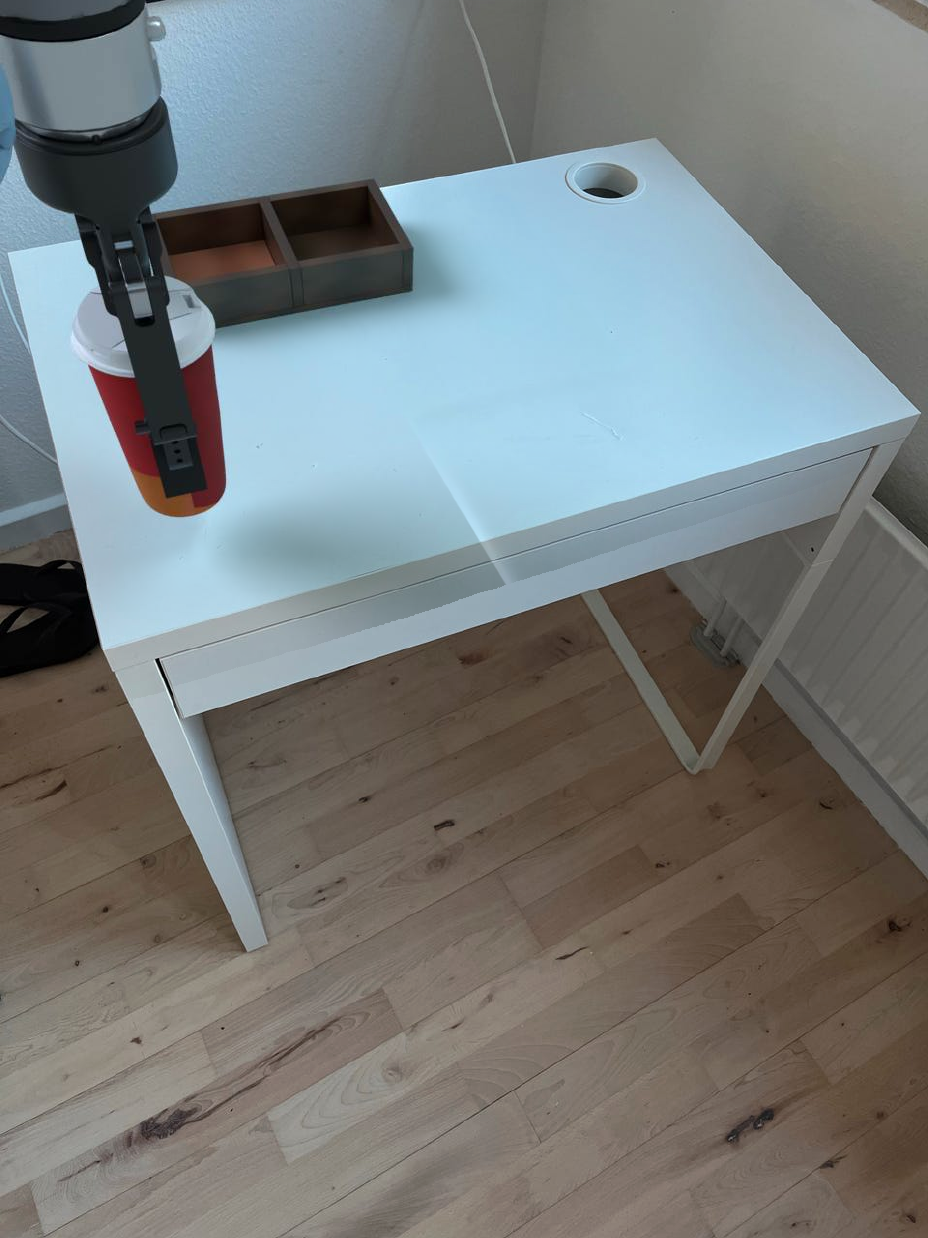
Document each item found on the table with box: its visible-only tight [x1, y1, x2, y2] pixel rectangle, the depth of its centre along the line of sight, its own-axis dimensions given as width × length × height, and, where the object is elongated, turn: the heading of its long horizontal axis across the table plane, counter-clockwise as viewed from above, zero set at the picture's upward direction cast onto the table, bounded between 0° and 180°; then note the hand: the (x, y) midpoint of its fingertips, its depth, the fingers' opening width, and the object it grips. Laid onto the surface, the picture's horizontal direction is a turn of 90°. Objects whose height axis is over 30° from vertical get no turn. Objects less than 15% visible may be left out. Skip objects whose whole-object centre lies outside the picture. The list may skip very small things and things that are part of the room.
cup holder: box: [151, 178, 414, 329], centre depth 87 cm, size 22×12×5 cm, turn 111°
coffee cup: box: [69, 273, 227, 518], centre depth 61 cm, size 8×8×15 cm
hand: (172, 442), depth 64 cm, fingers closed on coffee cup, 8 cm apart
